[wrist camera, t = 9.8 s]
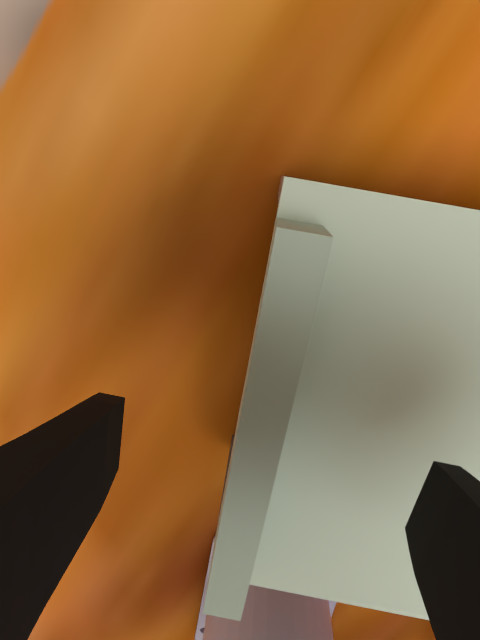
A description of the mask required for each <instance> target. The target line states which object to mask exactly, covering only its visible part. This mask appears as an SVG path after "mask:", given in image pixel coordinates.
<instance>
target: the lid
mask: <svg viewBox="0 0 480 640" xmlns="http://www.w3.org/2000/svg"><path fill="white" fill-rule="evenodd" d="M433 461H437V462H442V463H447V464H452V465H457V466H461V467H462V468H463V469H465V470H466V471H467V472H469V473H470V474H471V475H473V476H474V477H475V478H476V479H478V480H479V481H480V210H476V209H470V208H464V207H458V206H453V205H447V204H441V203H435V202H430V201H424V200H418V199H412V198H407V197H401V196H395V195H389V194H384V193H378V192H372V191H366V190H361V189H355V188H349V187H343V186H338V185H332V184H326V183H320V182H315V181H309V180H303V179H297V178H292V177H286V176H284V178H283V183H282V188H281V194H280V199H279V204H278V209H277V215H276V220H275V225H274V231H273V236H272V241H271V246H270V252H269V257H268V262H267V268H266V273H265V278H264V283H263V289H262V294H261V299H260V304H259V310H258V315H257V320H256V326H255V331H254V336H253V341H252V347H251V352H250V357H249V363H248V368H247V373H246V378H245V384H244V389H243V394H242V400H241V405H240V410H239V415H238V421H237V426H236V431H235V436H234V442H233V447H232V452H231V458H230V463H229V468H228V473H227V479H226V484H225V489H224V495H223V500H222V505H221V510H220V516H219V521H218V526H217V531H216V537H215V542H214V547H213V553H212V559H211V564H210V570H209V579H208V585H207V591H206V597H205V603H204V608H203V614H207V615H212V616H217V617H222V618H227V619H232V620H237V621H241V617H242V613H243V609H244V605H245V601H246V597H247V592H248V588H249V585H254V586H259V587H264V588H269V589H274V590H279V591H285V592H290V593H295V594H300V595H305V596H310V597H315V598H320V599H325V600H330V601H335V602H340V603H345V604H350V605H355V606H360V607H365V608H370V609H375V610H380V611H385V612H390V613H395V614H400V615H405V616H410V617H415V618H420V619H425V620H429V617H428V614H427V611H426V608H425V605H424V602H423V599H422V596H421V594H420V591H419V587H418V584H417V581H416V578H415V575H414V571H413V566H412V562H411V557H410V553H409V548H408V542H407V537H406V532H405V526H406V524H407V522H408V519H409V517H410V515H411V512H412V510H413V508H414V505H415V503H416V501H417V498H418V496H419V494H420V491H421V489H422V487H423V484H424V482H425V480H426V477H427V475H428V473H429V470H430V468H431V466H432V463H433Z"/></svg>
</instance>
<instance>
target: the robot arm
mask: <svg viewBox="0 0 480 640" xmlns="http://www.w3.org/2000/svg"><path fill="white" fill-rule="evenodd" d="M124 403H125V398H124V397H119V396H114V395H109V394H104V393H97V394H96V395H94V396H92V397H90V398H88V399H86V400H85V401H83V402H81V403H79V404H78V405H76V406H74V407H72V408H71V409H69V410H67V411H65V412H64V413H62V414H60V415H58V416H57V417H55V418H53V419H51V420H49V421H48V422H46V423H44V424H42V425H40V426H39V427H37V428H35V429H33V430H31V431H29V432H28V433H26V434H24V435H22V436H20V437H18V438H16V439H14V440H12V441H10V442H8V443H6V444H4V445H2V446H0V640H27V639H28V637H29V635H30V633H31V632H32V630H33V628H34V626H35V624H36V622H37V620H38V618H39V616H40V615H41V613H42V611H43V609H44V607H45V606H46V604H47V602H48V600H49V599H50V597H51V595H52V593H53V592H54V590H55V588H56V587H57V585H58V583H59V581H60V580H61V578H62V576H63V574H64V573H65V571H66V569H67V568H68V566H69V564H70V562H71V561H72V559H73V557H74V555H75V554H76V552H77V550H78V549H79V547H80V545H81V543H82V542H83V540H84V538H85V536H86V535H87V533H88V531H89V529H90V528H91V526H92V524H93V522H94V521H95V519H96V517H97V515H98V513H99V512H100V510H101V508H102V506H103V503H104V501H105V499H106V496H107V494H108V492H109V490H110V487H111V485H112V483H113V480H114V478H115V475H116V473H117V471H118V468H119V457H120V446H121V435H122V424H123V413H124ZM405 532H406V537H407V542H408V548H409V553H410V557H411V562H412V566H413V571H414V575H415V578H416V581H417V584H418V587H419V591H420V594H421V596H422V599H423V602H424V605H425V608H426V611H427V614H428V617H429V620H430V623H431V626H432V629H433V632H434V635H435V638H436V640H480V481H479V480H478V479H476V478H475V477H474V476H473V475H471V474H470V473H469V472H467V471H466V470H465V469H463V468H462V467H461V466H457V465H452V464H447V463H442V462H437V461H433V463H432V466H431V468H430V470H429V473H428V475H427V477H426V480H425V482H424V484H423V487H422V489H421V491H420V494H419V496H418V498H417V501H416V503H415V505H414V508H413V510H412V512H411V515H410V517H409V519H408V522H407V524H406V526H405ZM214 541H215V537H214V539H213V543H212V548H211V553H210V559H209V564H208V570H207V575H206V580H205V586H204V591H203V596H202V602H201V607H200V612H199V618H198V623H197V628H196V634H195V640H333V632H332V623H331V617H332V614H333V611H334V608H335V606H336V603H337V602H335V601H330V600H325V599H320V598H315V597H310V596H305V595H300V594H295V593H290V592H285V591H279V590H274V589H269V588H264V587H259V586H254V585H249V588H248V592H247V597H246V601H245V605H244V609H243V613H242V617H241V621H237V620H232V619H227V618H222V617H217V616H212V615H207V614H203V608H204V603H205V597H206V591H207V585H208V579H209V570H210V564H211V559H212V553H213V547H214Z"/></svg>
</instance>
